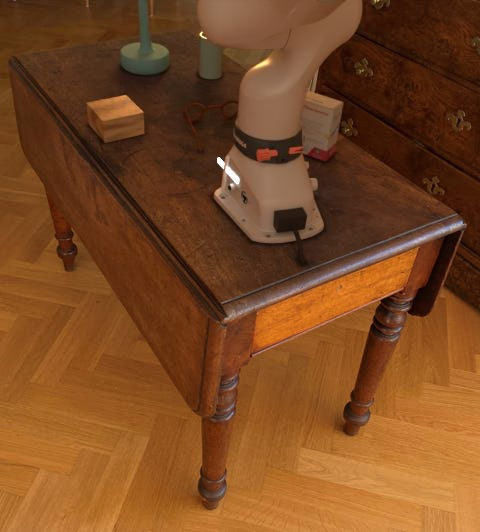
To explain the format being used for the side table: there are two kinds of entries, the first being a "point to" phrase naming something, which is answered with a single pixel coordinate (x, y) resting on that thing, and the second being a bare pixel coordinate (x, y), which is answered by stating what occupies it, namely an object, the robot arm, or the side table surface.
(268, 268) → the side table surface
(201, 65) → the tumbler
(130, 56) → the mug tree
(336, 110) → the ink box
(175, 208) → the side table surface
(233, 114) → the glasses
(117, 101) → the block
